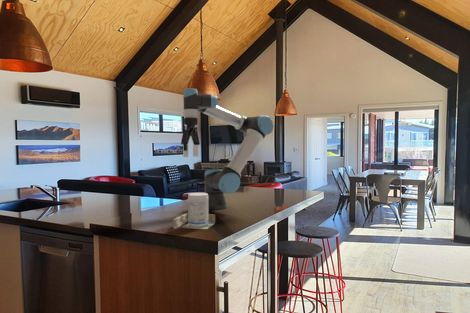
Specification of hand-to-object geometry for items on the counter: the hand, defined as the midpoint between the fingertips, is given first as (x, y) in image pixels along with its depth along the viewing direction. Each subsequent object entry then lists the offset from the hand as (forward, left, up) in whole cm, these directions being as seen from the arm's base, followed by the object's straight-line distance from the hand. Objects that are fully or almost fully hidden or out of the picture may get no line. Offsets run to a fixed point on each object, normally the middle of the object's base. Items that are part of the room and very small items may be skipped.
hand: (191, 156), depth 180 cm
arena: (+23, +11, -32) cm, 41 cm away
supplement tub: (+23, +13, -32) cm, 41 cm away
